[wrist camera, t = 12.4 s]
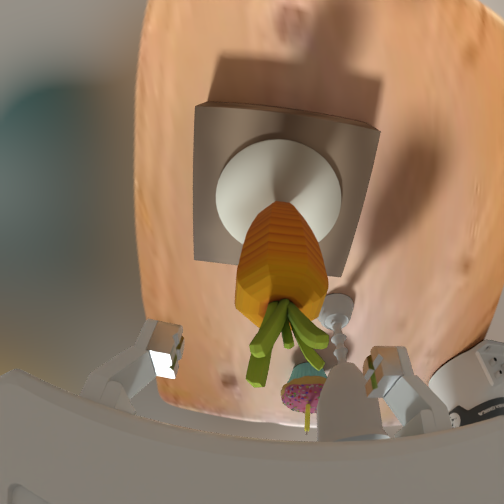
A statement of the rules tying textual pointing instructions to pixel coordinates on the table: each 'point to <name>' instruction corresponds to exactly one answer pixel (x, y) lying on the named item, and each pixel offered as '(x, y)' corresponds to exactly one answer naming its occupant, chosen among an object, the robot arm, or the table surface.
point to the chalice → (345, 386)
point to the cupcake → (304, 390)
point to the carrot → (281, 287)
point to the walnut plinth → (277, 175)
